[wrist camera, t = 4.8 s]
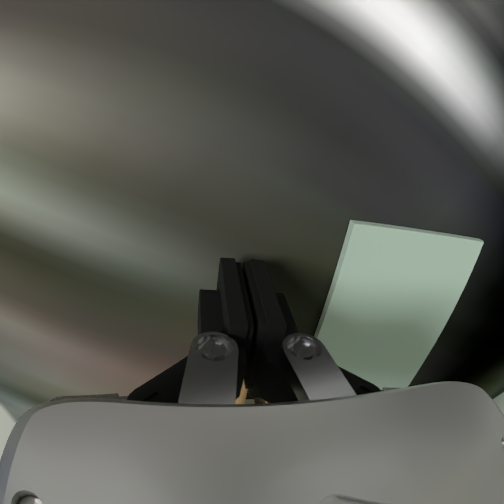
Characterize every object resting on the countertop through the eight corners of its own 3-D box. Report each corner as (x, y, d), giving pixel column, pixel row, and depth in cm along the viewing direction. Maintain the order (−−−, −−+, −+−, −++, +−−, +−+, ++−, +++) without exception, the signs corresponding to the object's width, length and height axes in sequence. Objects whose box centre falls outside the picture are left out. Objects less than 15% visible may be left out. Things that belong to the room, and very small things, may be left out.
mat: (350, 219, 13) (354, 223, 13) (479, 238, 15) (483, 241, 14) (271, 443, 21) (272, 447, 21) (372, 428, 23) (373, 432, 22)
